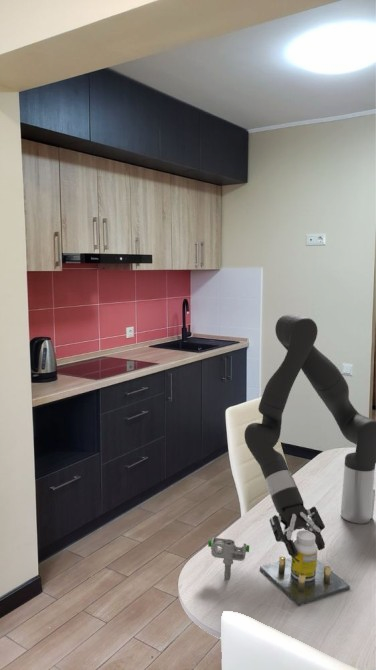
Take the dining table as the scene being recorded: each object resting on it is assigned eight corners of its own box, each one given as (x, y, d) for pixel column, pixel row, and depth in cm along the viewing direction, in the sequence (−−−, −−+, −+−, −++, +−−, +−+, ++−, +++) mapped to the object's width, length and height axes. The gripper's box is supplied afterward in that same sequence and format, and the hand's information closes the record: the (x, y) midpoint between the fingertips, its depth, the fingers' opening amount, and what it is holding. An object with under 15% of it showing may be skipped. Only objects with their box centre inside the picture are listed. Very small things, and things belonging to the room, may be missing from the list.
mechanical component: (246, 585, 130) (248, 548, 129) (206, 579, 132) (207, 542, 131) (247, 578, 133) (249, 541, 132) (208, 572, 135) (209, 536, 134)
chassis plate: (308, 556, 144) (309, 541, 144) (349, 589, 130) (351, 572, 130) (259, 569, 137) (260, 553, 137) (298, 606, 123) (299, 588, 123)
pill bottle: (287, 568, 137) (290, 528, 135) (310, 567, 137) (313, 528, 136) (294, 582, 130) (297, 541, 129) (318, 582, 131) (322, 541, 129)
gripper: (268, 490, 134) (293, 554, 126) (311, 481, 141) (338, 542, 132) (255, 501, 140) (278, 563, 131) (298, 492, 146) (323, 551, 138)
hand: (308, 552), depth 132 cm, fingers open, 8 cm apart
